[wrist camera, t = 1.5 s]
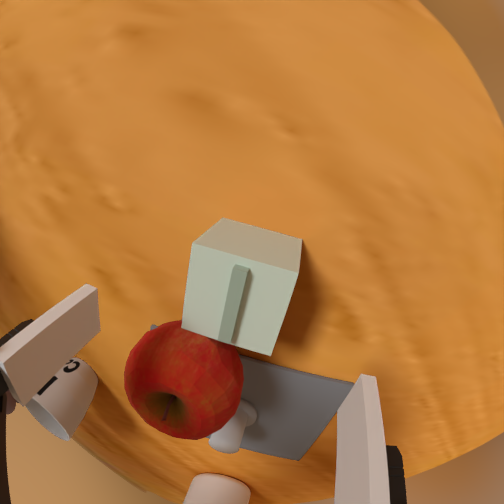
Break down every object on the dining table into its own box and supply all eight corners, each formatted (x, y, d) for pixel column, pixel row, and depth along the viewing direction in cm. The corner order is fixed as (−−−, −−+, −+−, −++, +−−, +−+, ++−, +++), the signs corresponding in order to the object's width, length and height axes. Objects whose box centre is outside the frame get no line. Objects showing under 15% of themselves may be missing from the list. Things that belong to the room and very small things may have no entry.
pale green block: (209, 287, 24) (177, 332, 18) (222, 217, 22) (188, 246, 15) (280, 308, 23) (269, 362, 17) (302, 239, 21) (298, 277, 15)
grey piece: (152, 414, 33) (135, 443, 28) (152, 324, 27) (124, 357, 22) (299, 458, 31) (294, 491, 26) (353, 382, 25) (357, 426, 20)
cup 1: (83, 345, 31) (35, 394, 21) (117, 393, 33) (80, 445, 23) (54, 350, 33) (13, 391, 24) (85, 393, 35) (51, 436, 26)
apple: (156, 346, 27) (96, 414, 16) (184, 274, 24) (110, 334, 14) (234, 388, 26) (200, 474, 16) (275, 323, 24) (252, 413, 14)
